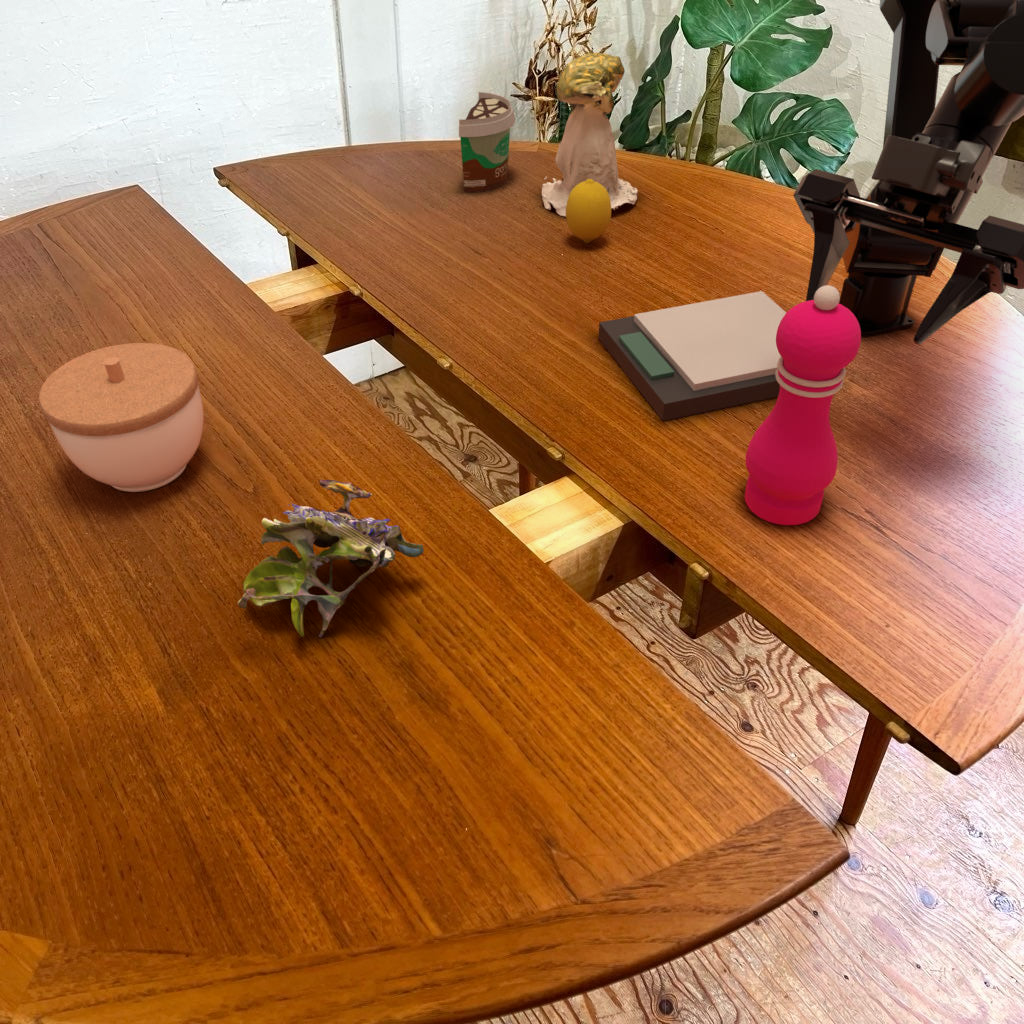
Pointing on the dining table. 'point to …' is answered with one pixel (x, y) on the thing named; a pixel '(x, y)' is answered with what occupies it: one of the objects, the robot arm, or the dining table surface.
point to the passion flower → (321, 554)
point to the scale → (699, 353)
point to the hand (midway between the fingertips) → (860, 323)
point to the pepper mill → (802, 411)
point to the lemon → (588, 210)
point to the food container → (486, 143)
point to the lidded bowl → (126, 414)
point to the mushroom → (588, 132)
